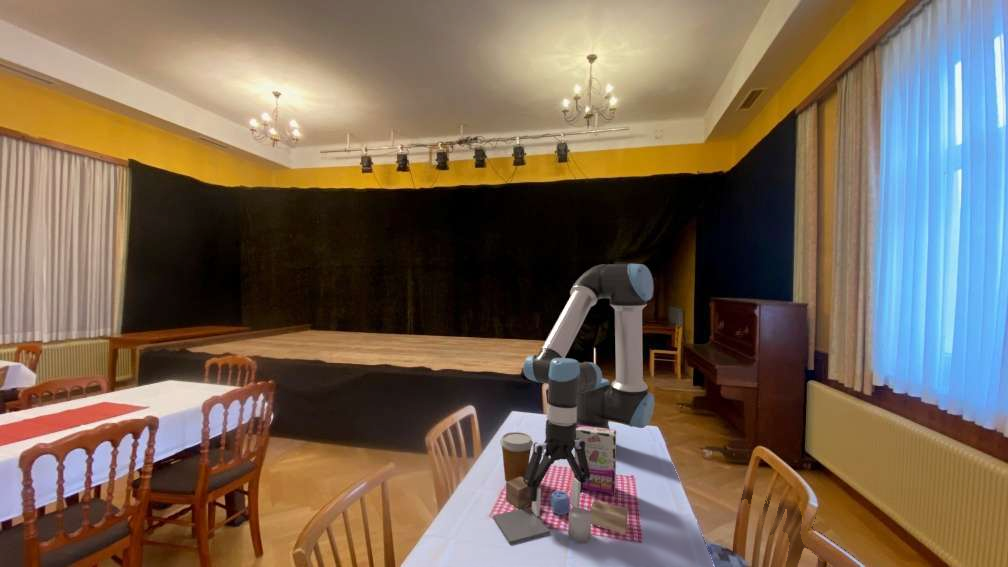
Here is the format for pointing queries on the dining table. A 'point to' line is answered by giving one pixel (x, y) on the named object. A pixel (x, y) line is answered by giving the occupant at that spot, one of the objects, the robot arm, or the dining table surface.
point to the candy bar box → (599, 458)
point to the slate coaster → (520, 525)
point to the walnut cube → (518, 493)
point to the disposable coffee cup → (515, 454)
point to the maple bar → (609, 516)
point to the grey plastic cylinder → (579, 525)
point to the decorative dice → (560, 502)
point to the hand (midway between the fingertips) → (555, 509)
